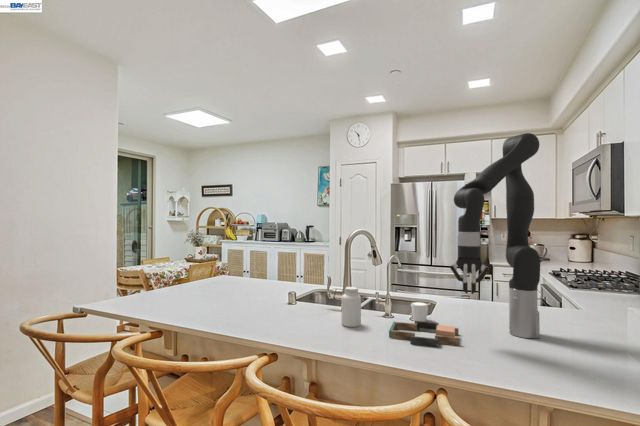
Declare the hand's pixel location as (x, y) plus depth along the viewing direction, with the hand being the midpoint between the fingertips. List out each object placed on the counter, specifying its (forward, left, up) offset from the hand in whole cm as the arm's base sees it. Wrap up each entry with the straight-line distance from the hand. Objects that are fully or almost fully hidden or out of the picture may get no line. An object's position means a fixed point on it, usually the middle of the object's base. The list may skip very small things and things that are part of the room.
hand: (469, 293), depth 122 cm
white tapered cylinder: (+19, -20, -17) cm, 33 cm away
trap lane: (+16, 0, -17) cm, 23 cm away
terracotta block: (+8, 0, -17) cm, 19 cm away
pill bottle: (+45, -4, -17) cm, 48 cm away
